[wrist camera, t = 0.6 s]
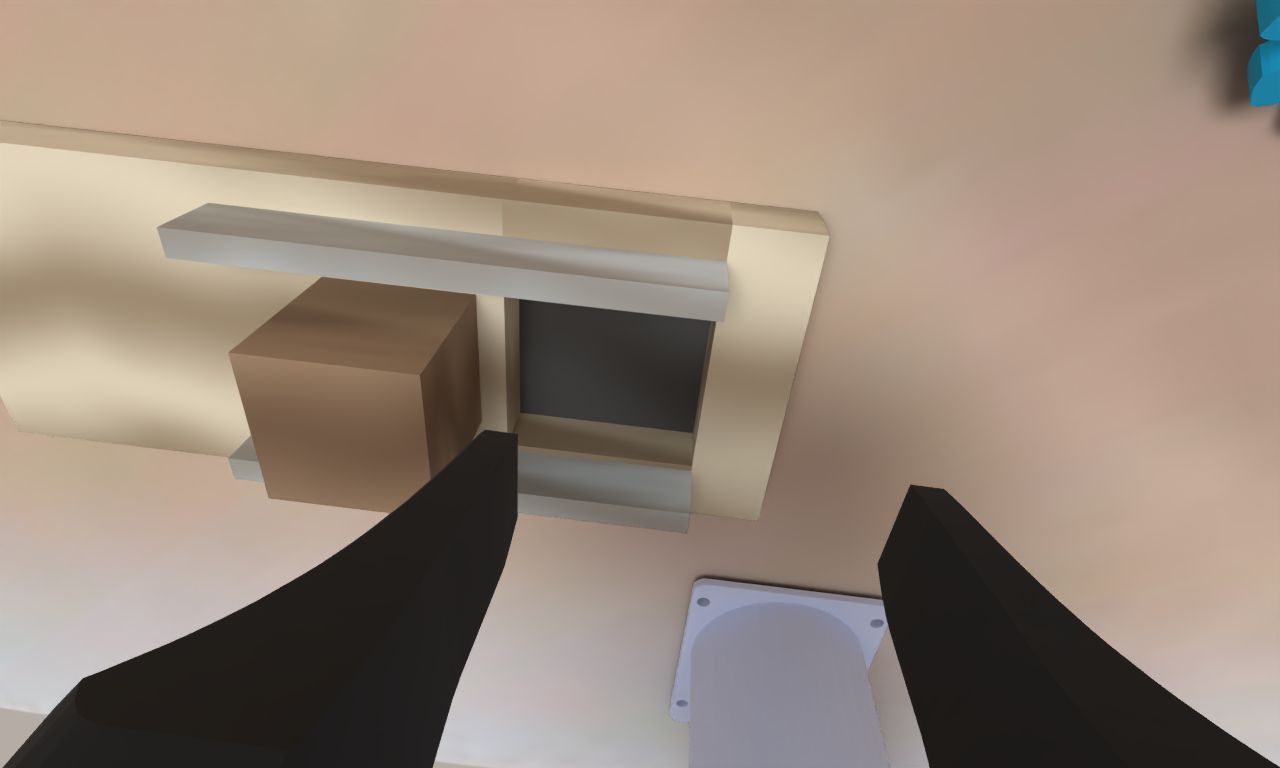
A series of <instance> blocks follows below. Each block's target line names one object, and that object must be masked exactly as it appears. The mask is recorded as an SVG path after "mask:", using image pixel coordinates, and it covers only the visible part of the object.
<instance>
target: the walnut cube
mask: <svg viewBox="0 0 1280 768" xmlns="http://www.w3.org/2000/svg"><path fill="white" fill-rule="evenodd" d="M228 355H229V358H230V362H231V365H232V369H233V372H234V376H235V379H236V383H237V387H238V390H239V394H240V397H241V401H242V404H243V408H244V412H245V415H246V419H247V422H248V426H249V429H250V433H251V436H252V440H253V444H254V447H255V451H256V454H257V458H258V461H259V465H260V468H261V472H262V476H263V479H264V483H265V486H266V490H267V493H268V497H269V498H271V499H279V500H287V501H295V502H304V503H312V504H320V505H328V506H337V507H345V508H353V509H361V510H369V511H378V512H386V513H392V512H393V511H394V510H395V509H397V508H398V507H399V506H401V505H402V504H403V503H404V502H405V501H407V500H408V499H409V498H410V497H411V496H413V495H414V494H415V493H416V492H417V491H418V490H419V489H421V488H422V487H423V486H424V485H425V484H426V483H427V482H429V481H430V480H431V479H432V478H433V477H434V476H435V475H437V474H438V473H439V472H440V471H441V470H442V469H443V468H444V467H445V466H446V465H447V464H448V463H449V462H451V461H452V460H453V459H454V458H455V457H456V456H457V455H458V454H459V453H460V452H461V451H462V450H463V449H464V448H465V447H466V446H467V445H468V444H469V443H470V442H471V441H472V440H473V439H474V437H475V435H476V432H477V430H478V428H479V426H480V424H481V422H482V412H481V391H480V370H479V349H478V328H477V307H476V294H468V293H459V292H451V291H442V290H433V289H425V288H416V287H407V286H399V285H390V284H381V283H373V282H364V281H355V280H346V279H338V278H329V277H321V278H320V279H318V280H317V281H316V282H315V283H314V284H312V285H311V286H310V287H309V288H307V289H306V290H305V291H304V292H302V293H301V294H300V295H299V296H297V297H296V298H295V299H294V300H293V301H291V302H290V303H289V304H288V305H286V306H285V307H284V308H283V309H281V310H280V311H279V312H278V313H276V314H275V315H274V316H273V317H271V318H270V319H269V320H268V321H267V322H265V323H264V324H263V325H262V326H260V327H259V328H258V329H257V330H255V331H254V332H253V333H252V334H250V335H249V336H248V337H247V338H246V339H244V340H243V341H242V342H241V343H239V344H238V345H237V346H236V347H234V348H233V349H232V350H231V351H229V352H228Z"/></svg>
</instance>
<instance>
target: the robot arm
mask: <svg viewBox="0 0 1280 768" xmlns="http://www.w3.org/2000/svg"><path fill="white" fill-rule="evenodd" d="M517 517H518V434H515V433H507V432H499V431H492V430H484V431H483V432H481V433H480V434H479V435H478V436H477V437H476V438H475V439H473V440H472V441H471V442H470V443H469V444H468V445H467V446H466V447H465V448H464V449H463V450H462V451H461V452H460V453H459V454H458V455H457V456H456V457H455V458H454V459H453V460H452V461H451V462H449V463H448V464H447V465H446V466H445V467H444V468H443V469H442V470H441V471H440V472H439V473H438V474H437V475H435V476H434V477H433V478H432V479H431V480H430V481H429V482H427V483H426V484H425V485H424V486H423V487H422V488H421V489H419V490H418V491H417V492H416V493H415V494H414V495H413V496H411V497H410V498H409V499H408V500H407V501H405V502H404V503H403V504H402V505H401V506H399V507H398V508H397V509H395V510H394V511H393V512H392V513H390V514H389V515H388V516H387V517H385V518H384V519H383V520H382V521H380V522H379V523H378V524H376V525H375V526H374V527H373V528H371V529H370V530H369V531H367V532H366V533H365V534H363V535H362V536H360V537H359V538H358V539H356V540H355V541H354V542H352V543H351V544H349V545H348V546H346V547H345V548H344V549H342V550H341V551H339V552H338V553H336V554H335V555H333V556H332V557H330V558H329V559H327V560H326V561H324V562H323V563H321V564H319V565H318V566H316V567H315V568H313V569H311V570H310V571H308V572H306V573H305V574H303V575H301V576H300V577H298V578H296V579H294V580H293V581H291V582H289V583H287V584H286V585H284V586H282V587H280V588H279V589H277V590H275V591H273V592H272V593H270V594H268V595H266V596H265V597H263V598H261V599H259V600H258V601H256V602H254V603H252V604H250V605H248V606H246V607H244V608H242V609H240V610H238V611H236V612H234V613H232V614H230V615H228V616H226V617H224V618H222V619H220V620H218V621H216V622H214V623H212V624H210V625H208V626H206V627H203V628H201V629H199V630H197V631H195V632H193V633H191V634H189V635H186V636H184V637H182V638H180V639H177V640H175V641H173V642H171V643H169V644H166V645H164V646H161V647H159V648H157V649H154V650H152V651H149V652H147V653H144V654H142V655H140V656H137V657H135V658H132V659H130V660H128V661H125V662H123V663H120V664H118V665H115V666H113V667H111V668H108V669H106V670H103V671H101V672H98V673H96V674H93V675H90V676H88V677H85V678H83V679H82V680H81V681H80V682H79V683H78V684H77V685H76V686H75V687H74V688H73V689H72V690H71V691H70V692H69V693H68V694H67V696H66V697H65V698H64V699H63V700H62V701H61V702H60V703H59V704H58V705H57V706H56V707H55V708H54V709H53V710H52V712H51V713H50V714H49V715H48V716H47V717H46V718H45V720H44V721H43V722H42V723H41V724H40V725H39V726H38V728H37V729H36V730H35V731H34V732H33V733H32V735H31V736H30V737H29V738H28V739H27V740H26V741H25V743H24V744H23V745H22V746H21V747H20V748H19V749H18V751H17V752H16V753H15V754H14V755H13V756H12V758H11V759H10V760H9V761H8V762H7V763H6V764H5V766H4V767H3V768H433V764H434V761H435V757H436V754H437V750H438V747H439V744H440V740H441V737H442V733H443V730H444V726H445V723H446V720H447V716H448V713H449V709H450V706H451V703H452V699H453V696H454V694H455V691H456V688H457V685H458V682H459V679H460V677H461V674H462V671H463V669H464V666H465V664H466V661H467V659H468V656H469V654H470V651H471V649H472V646H473V644H474V641H475V639H476V636H477V634H478V631H479V629H480V627H481V624H482V622H483V619H484V617H485V614H486V612H487V609H488V607H489V604H490V602H491V599H492V597H493V594H494V591H495V589H496V586H497V584H498V581H499V579H500V576H501V574H502V571H503V569H504V566H505V562H506V559H507V555H508V551H509V548H510V544H511V540H512V536H513V533H514V529H515V525H516V521H517ZM878 571H879V578H880V585H881V592H882V598H883V600H879V599H871V598H863V597H854V596H846V595H838V594H830V593H822V592H813V591H805V590H797V589H789V588H781V587H772V586H764V585H756V584H748V583H740V582H731V581H723V580H715V579H707V578H706V579H699V580H697V581H696V582H694V584H693V587H692V593H691V598H690V603H689V608H688V613H687V618H686V624H685V629H684V634H683V639H682V644H681V649H680V655H679V660H678V665H677V670H676V675H675V680H674V686H673V691H672V696H671V701H670V706H669V716H670V718H671V719H673V720H675V721H678V722H686V723H690V742H689V768H890V765H889V761H888V756H887V752H886V748H885V744H884V740H883V736H882V731H881V727H880V723H879V719H878V715H877V710H876V706H875V702H874V698H873V694H872V689H871V685H870V681H869V677H868V673H867V672H868V670H869V668H870V665H871V663H872V661H873V659H874V657H875V654H876V652H877V650H878V648H879V645H880V643H881V641H882V639H883V636H884V634H885V632H886V630H887V627H888V626H889V630H890V633H891V637H892V640H893V643H894V647H895V650H896V653H897V657H898V660H899V663H900V667H901V670H902V673H903V677H904V680H905V683H906V686H907V690H908V693H909V696H910V699H911V703H912V706H913V709H914V713H915V716H916V719H917V722H918V726H919V729H920V732H921V736H922V739H923V743H924V747H925V751H926V755H927V759H928V762H929V767H930V768H1280V767H1279V766H1277V765H1276V764H1274V763H1273V762H1271V761H1269V760H1268V759H1266V758H1265V757H1263V756H1262V755H1260V754H1259V753H1257V752H1256V751H1254V750H1252V749H1251V748H1249V747H1248V746H1246V745H1245V744H1243V743H1242V742H1240V741H1239V740H1237V739H1236V738H1234V737H1233V736H1231V735H1230V734H1228V733H1227V732H1225V731H1224V730H1222V729H1221V728H1220V727H1218V726H1217V725H1215V724H1214V723H1213V722H1211V721H1210V720H1208V719H1207V718H1205V717H1204V716H1203V715H1201V714H1200V713H1198V712H1197V711H1195V710H1194V709H1193V708H1191V707H1190V706H1188V705H1187V704H1185V703H1184V702H1183V701H1181V700H1180V699H1178V698H1177V697H1176V696H1174V695H1173V694H1172V693H1170V692H1169V691H1168V690H1166V689H1165V688H1164V687H1162V686H1161V685H1159V684H1158V683H1157V682H1155V681H1154V680H1153V679H1152V678H1150V677H1149V676H1148V675H1146V674H1145V673H1144V672H1143V671H1141V670H1140V669H1139V668H1138V667H1136V666H1135V665H1134V664H1133V663H1131V662H1130V661H1129V660H1127V659H1126V658H1125V657H1124V656H1122V655H1121V654H1120V653H1119V652H1117V651H1116V650H1115V649H1114V648H1112V647H1111V646H1110V645H1109V644H1107V643H1106V642H1105V641H1104V640H1103V639H1102V638H1100V637H1099V636H1098V635H1097V634H1096V633H1094V632H1093V631H1092V630H1091V629H1090V628H1089V627H1087V626H1086V625H1085V624H1084V623H1083V622H1082V621H1081V620H1080V619H1078V618H1077V617H1076V616H1075V615H1074V614H1073V613H1072V612H1071V611H1070V610H1068V609H1067V608H1066V607H1065V606H1064V605H1063V604H1062V603H1061V602H1059V601H1058V600H1057V599H1056V598H1055V597H1054V596H1053V595H1052V594H1051V593H1050V592H1049V591H1048V590H1046V589H1045V588H1044V587H1043V586H1042V585H1041V584H1040V583H1039V582H1038V581H1037V580H1036V579H1035V578H1034V577H1033V576H1032V575H1031V574H1030V573H1029V572H1028V571H1027V570H1026V569H1025V568H1024V567H1022V566H1021V565H1020V564H1019V563H1018V562H1017V561H1016V560H1015V559H1014V558H1013V557H1012V556H1011V555H1010V554H1009V553H1008V552H1007V551H1006V550H1005V549H1004V548H1003V547H1002V546H1001V545H1000V544H999V543H998V542H997V541H996V540H995V539H994V538H993V537H992V536H991V535H990V534H989V533H988V532H987V531H986V530H985V529H984V528H983V527H982V525H981V524H980V523H979V522H978V521H977V520H976V519H975V518H974V517H973V516H972V515H971V514H970V513H969V512H968V511H967V510H966V509H965V508H964V507H963V506H962V505H961V504H960V503H958V502H957V501H956V500H955V499H954V498H953V497H952V496H951V495H950V494H949V493H948V492H947V491H946V490H944V489H939V488H932V487H924V486H916V485H910V487H909V489H908V492H907V494H906V497H905V499H904V501H903V504H902V506H901V509H900V511H899V513H898V516H897V518H896V521H895V523H894V525H893V528H892V530H891V533H890V535H889V538H888V540H887V542H886V545H885V547H884V550H883V552H882V554H881V557H880V559H879V562H878ZM702 598H706V599H702ZM875 619H876V620H875Z"/></svg>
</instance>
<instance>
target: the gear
mask: <svg viewBox="0 0 1280 768" xmlns="http://www.w3.org/2000/svg"><path fill="white" fill-rule="evenodd" d="M1256 7H1257V16H1258V25H1259V34H1260V36H1261V37H1262V38H1264V39H1267V40H1270V41H1267V42H1265V43H1263V44H1260V45H1259V46H1258V47H1257V48H1256V49H1255V51H1254V52H1253V53H1252V55H1251V57H1250V59H1249V63H1248V75H1247V76H1248V85H1249V95H1250V105H1251V106H1266V105H1272V104H1277V103H1280V0H1257V1H1256Z"/></svg>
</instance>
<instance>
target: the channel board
mask: <svg viewBox="0 0 1280 768" xmlns="http://www.w3.org/2000/svg"><path fill="white" fill-rule="evenodd" d="M829 237H830V235H829V233H828V231H827V229H826V227H825V225H824V223H823V221H822V219H821V217H820V215H819V213H818V212H815V211H806V210H797V209H788V208H779V207H770V206H761V205H752V204H743V203H734V202H726V201H717V200H708V199H699V198H690V197H681V196H672V195H663V194H654V193H645V192H636V191H627V190H618V189H609V188H600V187H591V186H582V185H573V184H564V183H556V182H547V181H538V180H529V179H520V178H511V177H502V176H493V175H484V174H475V173H466V172H457V171H448V170H439V169H430V168H421V167H412V166H403V165H394V164H386V163H377V162H368V161H359V160H350V159H341V158H332V157H323V156H314V155H305V154H296V153H287V152H278V151H269V150H260V149H251V148H242V147H233V146H224V145H216V144H207V143H198V142H189V141H180V140H171V139H162V138H153V137H144V136H135V135H126V134H117V133H108V132H99V131H90V130H81V129H72V128H63V127H54V126H46V125H37V124H28V123H19V122H10V121H1V120H0V396H1V398H2V400H3V401H4V403H5V405H6V407H7V409H8V411H9V413H10V415H11V417H12V419H13V421H14V423H15V425H16V427H17V429H18V431H19V432H23V433H31V434H39V435H48V436H56V437H64V438H73V439H81V440H89V441H97V442H106V443H114V444H122V445H131V446H139V447H147V448H156V449H164V450H172V451H181V452H189V453H197V454H205V455H214V456H222V457H229V458H228V459H229V462H230V465H231V468H232V471H233V475H234V478H235V479H242V480H250V481H258V482H264V479H263V476H262V472H261V468H260V465H259V461H258V458H257V454H256V451H255V447H254V444H253V440H252V436H251V433H250V429H249V426H248V422H247V419H246V415H245V412H244V408H243V404H242V401H241V397H240V394H239V390H238V387H237V383H236V379H235V376H234V372H233V369H232V365H231V362H230V358H229V355H228V352H229V351H231V350H232V349H233V348H234V347H236V346H237V345H238V344H239V343H241V342H242V341H243V340H244V339H246V338H247V337H248V336H249V335H250V334H252V333H253V332H254V331H255V330H257V329H258V328H259V327H260V326H262V325H263V324H264V323H265V322H267V321H268V320H269V319H270V318H271V317H273V316H274V315H275V314H276V313H278V312H279V311H280V310H281V309H283V308H284V307H285V306H286V305H288V304H289V303H290V302H291V301H293V300H294V299H295V298H296V297H297V296H299V295H300V294H301V293H302V292H304V291H305V290H306V289H307V288H309V287H310V286H311V285H312V284H314V283H315V282H316V281H317V280H318V279H320V278H321V277H329V278H338V279H346V280H355V281H364V282H373V283H381V284H390V285H399V286H407V287H416V288H425V289H433V290H442V291H451V292H459V293H468V294H476V307H477V328H478V349H479V370H480V391H481V412H482V422H481V424H480V426H479V428H478V430H477V432H476V435H475V437H474V439H475V438H476V437H477V436H478V435H479V434H480V433H481V432H483V431H484V430H492V431H499V432H507V433H515V434H518V513H523V514H531V515H539V516H548V517H556V518H564V519H572V520H581V521H589V522H597V523H605V524H614V525H622V526H630V527H639V528H647V529H655V530H663V531H672V532H680V533H687V531H688V525H689V520H690V513H696V514H704V515H712V516H721V517H729V518H737V519H746V520H754V521H758V519H759V515H760V511H761V507H762V503H763V500H764V496H765V492H766V488H767V484H768V480H769V476H770V472H771V468H772V464H773V460H774V456H775V452H776V448H777V444H778V440H779V436H780V432H781V428H782V424H783V420H784V416H785V412H786V408H787V404H788V400H789V396H790V392H791V388H792V384H793V380H794V376H795V372H796V368H797V365H798V361H799V357H800V353H801V349H802V345H803V341H804V337H805V333H806V329H807V325H808V321H809V317H810V313H811V309H812V305H813V301H814V297H815V293H816V289H817V285H818V281H819V277H820V273H821V269H822V265H823V261H824V257H825V253H826V249H827V245H828V241H829Z"/></svg>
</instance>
